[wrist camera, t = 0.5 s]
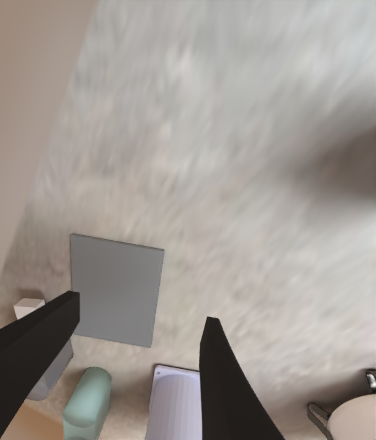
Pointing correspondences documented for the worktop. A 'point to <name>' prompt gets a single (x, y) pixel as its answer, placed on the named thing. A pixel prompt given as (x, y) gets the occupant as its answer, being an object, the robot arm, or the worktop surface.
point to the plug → (60, 361)
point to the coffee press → (350, 416)
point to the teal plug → (88, 406)
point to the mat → (116, 289)
